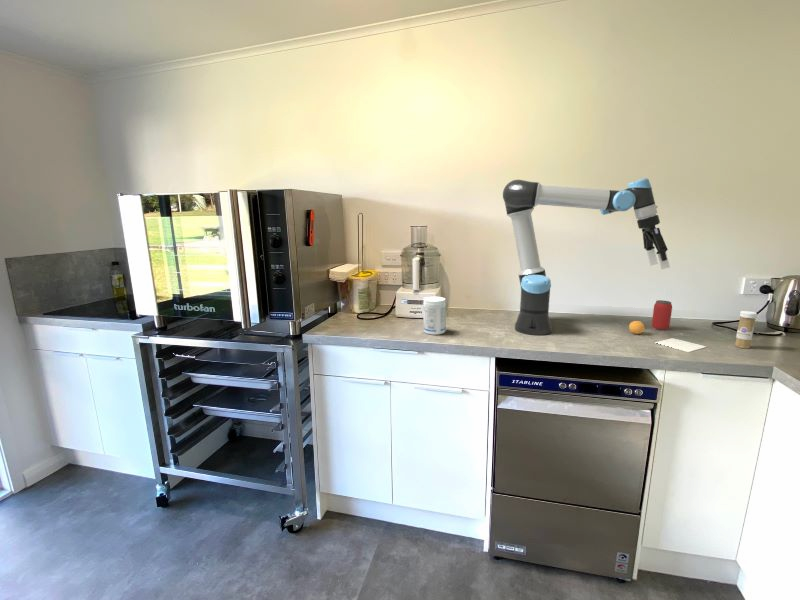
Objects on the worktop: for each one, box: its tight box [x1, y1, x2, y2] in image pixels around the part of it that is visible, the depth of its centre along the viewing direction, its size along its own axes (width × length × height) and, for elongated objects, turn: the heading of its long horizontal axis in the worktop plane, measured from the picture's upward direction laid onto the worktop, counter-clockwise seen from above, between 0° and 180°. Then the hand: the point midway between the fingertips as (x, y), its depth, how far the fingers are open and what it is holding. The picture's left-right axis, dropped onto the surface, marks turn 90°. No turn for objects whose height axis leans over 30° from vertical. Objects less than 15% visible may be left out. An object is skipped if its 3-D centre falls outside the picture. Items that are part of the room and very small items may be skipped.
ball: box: [628, 320, 645, 335], centre depth 161 cm, size 6×6×6 cm
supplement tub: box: [422, 296, 447, 336], centre depth 165 cm, size 10×10×15 cm
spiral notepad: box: [654, 337, 707, 353], centre depth 147 cm, size 12×12×1 cm
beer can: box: [651, 299, 673, 331], centre depth 168 cm, size 7×7×12 cm
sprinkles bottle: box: [734, 310, 758, 349], centre depth 143 cm, size 5×5×14 cm
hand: (659, 266), depth 160 cm, fingers open, 13 cm apart
